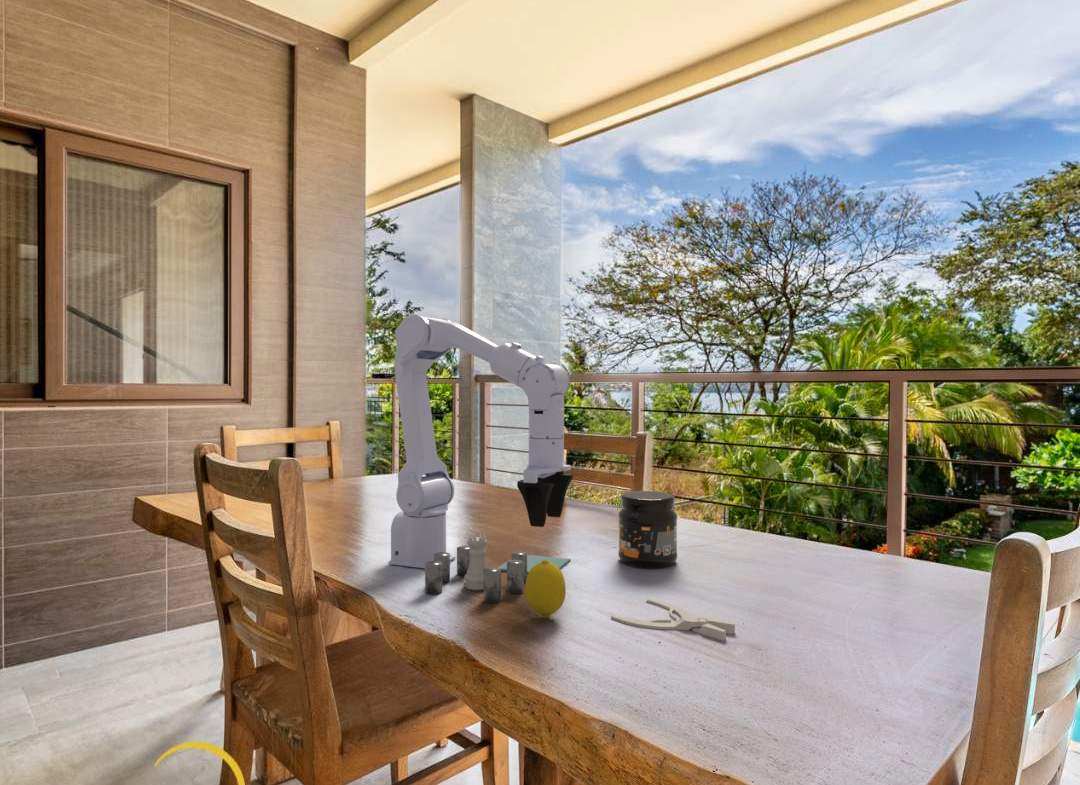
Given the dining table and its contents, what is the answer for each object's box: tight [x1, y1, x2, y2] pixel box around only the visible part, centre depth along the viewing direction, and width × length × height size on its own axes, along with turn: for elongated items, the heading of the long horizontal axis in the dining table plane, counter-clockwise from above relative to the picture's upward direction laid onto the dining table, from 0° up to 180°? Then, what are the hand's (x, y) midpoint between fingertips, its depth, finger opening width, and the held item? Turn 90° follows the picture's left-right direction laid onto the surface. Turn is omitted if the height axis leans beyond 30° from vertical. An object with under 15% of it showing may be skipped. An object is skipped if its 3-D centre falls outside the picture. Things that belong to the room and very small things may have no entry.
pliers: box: [610, 598, 736, 642], centre depth 86 cm, size 10×2×15 cm
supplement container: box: [617, 490, 678, 569], centre depth 116 cm, size 10×10×12 cm
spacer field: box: [424, 545, 528, 604], centre depth 102 cm, size 16×13×4 cm
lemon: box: [524, 560, 567, 619], centre depth 88 cm, size 6×6×8 cm
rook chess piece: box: [463, 534, 488, 592], centre depth 102 cm, size 4×4×8 cm
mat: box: [497, 554, 571, 575], centre depth 113 cm, size 10×10×1 cm
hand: (546, 521), depth 104 cm, fingers open, 7 cm apart
